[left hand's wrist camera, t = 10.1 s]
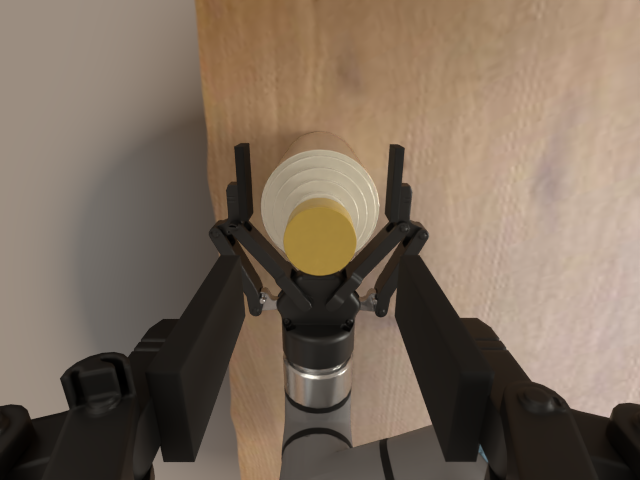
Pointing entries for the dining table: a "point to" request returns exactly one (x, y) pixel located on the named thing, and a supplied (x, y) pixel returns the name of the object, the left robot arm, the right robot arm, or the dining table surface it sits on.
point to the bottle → (320, 185)
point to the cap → (319, 237)
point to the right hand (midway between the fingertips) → (319, 144)
